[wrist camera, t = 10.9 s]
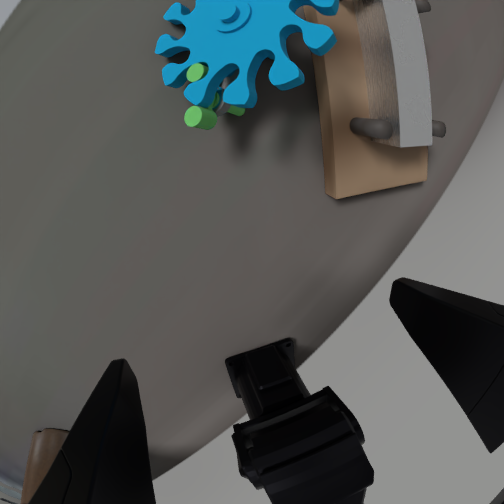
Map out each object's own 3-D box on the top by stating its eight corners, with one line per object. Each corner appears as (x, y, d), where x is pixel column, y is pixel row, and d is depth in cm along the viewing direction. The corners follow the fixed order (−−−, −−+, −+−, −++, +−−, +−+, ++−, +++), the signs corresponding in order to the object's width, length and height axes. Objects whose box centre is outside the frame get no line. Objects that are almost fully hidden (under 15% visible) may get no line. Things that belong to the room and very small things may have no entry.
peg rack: (415, 176, 22) (452, 190, 18) (325, 193, 20) (362, 213, 16) (390, -26, 13) (426, -37, 9) (289, -53, 11) (319, -79, 7)
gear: (198, -52, 9) (367, -40, 6) (245, -12, 14) (379, 19, 11) (118, 98, 13) (260, 164, 11) (182, 111, 18) (303, 169, 16)
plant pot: (1, 406, 19) (-13, 519, 6) (120, 426, 25) (137, 554, 12) (40, 460, 25) (42, 543, 12) (132, 472, 31) (149, 558, 18)
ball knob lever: (407, 138, 19) (435, 145, 16) (366, 141, 18) (395, 147, 15) (378, -36, 11) (403, -45, 8) (333, -50, 10) (357, -64, 8)
